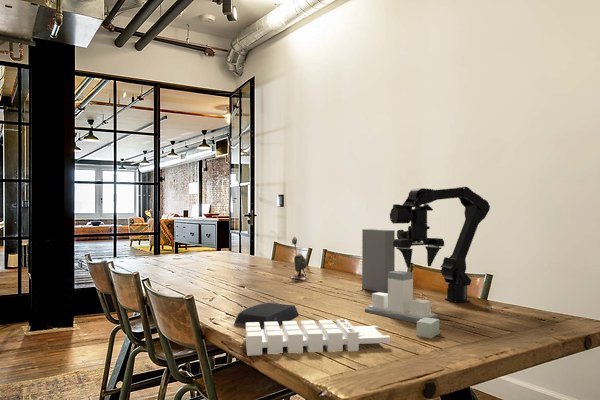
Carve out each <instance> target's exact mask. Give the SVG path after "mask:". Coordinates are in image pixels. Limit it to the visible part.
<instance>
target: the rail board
mask: <svg viewBox="0 0 600 400" xmlns="http://www.w3.org/2000/svg"><path fill="white" fill-rule="evenodd" d="M364 312H365V313H370V314H373V315H374V314H375V315H378V316H383V317H388V318H392V319H397V320H400V321H405V322H410V323H415V324H417V321H419V320H421V319H423V318H425V317H427V318H434V319H439V318H438V317H439V315H438V314H436V313H432V301H431V300H426V299H419V298H415V299H414V298H413V300H410V311H408V312H404V313H403V312H398V311H393V310H388V293H381V292H373V293H371V305H367V307H366V308H364Z"/></svg>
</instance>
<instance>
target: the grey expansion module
mask: <svg viewBox="0 0 600 400" xmlns="http://www.w3.org/2000/svg"><path fill="white" fill-rule="evenodd" d="M413 281H414V272H413V271H412V272H410V271H403V270H402V271H401V270H395V271H392V272H388V293H387V294H388V310H393V311H398V312H403V313H404V312H408V311H410V300H414V297H413V296H414V287H413V286H414V285H413V284H414V282H413Z"/></svg>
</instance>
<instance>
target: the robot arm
mask: <svg viewBox="0 0 600 400" xmlns="http://www.w3.org/2000/svg"><path fill="white" fill-rule="evenodd" d="M447 199H448V200H449V199H459V201H460V204H461V205H462V206H463V207H464V212H463V213H464V219H465V220H464V221H463V222H464V223H463V225H462V228H461V229H460V233H459V236H458V238H457V241H456V242H455V243H456V244H455V246H454V249H453V252H452V254H451V255H450V256H449V257H447V256H445V257H444V258H443V261H442V264H441V265H440V268H441V269H440V273H441V275H442V277H443V278H444V282H445V283H447V289H446V290H447V291H446V292H447V294H446V295H447V296H446V297H445V298H444V300H446V301H449V302H453V303H458V304H459V303H466V302H471V299H468V286H471V283H472V279H471V278H470V277H469V275H467V273H466V270H467V263H466V259H467V256H468V253H469V251H470V248H471V245H472V244H473V243H472V242H473V240H474V237H475V234H476V232H477V229H478V227H479V224H480V223H481V222H482V221H483V220H485V218H486V217H487V215H488V213H489V212H490V209H491V208H490V207H491V205H490V204H489V201H488V200H486V199H484V198H483V197H482V196H480V195H479V194H478V193H476V192H474V191H473V190H472V189H471V188H470V187H468V186H458V187H451V188H450V187H449V188H441V189H440V188H439V189H432V188H423V187H422V188H412V189H410V191H409V193H408V196H407V198H406V199H405V201H404V202H403V203H402V204H398V203H397V204H394V203H393V205H392V208H391V210H390V213H389V219H390V223H392V224H395V225H396V224H409V223H410V225H408V227H407V230H404V229H397V231H396V238H395V240H394V242H393V247H395V250H399V251H400V253H401V255H402V256H403V259H404V262H405V263H404V264H405V265H406V268H409V269H410V268H411V264H412V256H413V248H411V247H413V246H425V247H424V248H425V250H426V255H427V256H426V258H427V259H426V262H427V267H428V268H429V267H432V264H433V262H434V260H435V258H436V256H437V255H438V253H439V251H440V250H441V249H442V247H445V241H444V239H443V238H439V237H428V230H430V229H431V228H430V227H431V226H428V212H429V211H431V212H432V211H433V210H434V209H433V208H432V207H431V206H430V205H429V204H430V203H433V202H436V201H439V200H447Z"/></svg>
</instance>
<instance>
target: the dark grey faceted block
mask: <svg viewBox="0 0 600 400" xmlns="http://www.w3.org/2000/svg"><path fill="white" fill-rule="evenodd" d="M297 317H299V311H298V309H297V307H296V306H295V305H294V304H285V303H277V302H276V303H274V302H263V303H259V304H256V305H252V306H249V307H247V308H245V309H243V310H241V311H240V312H239V313H238V314H237V316H236V318H235V319H234V324H233V325H235V326H241V327H246V323H247V322H259V324H260V328H261V330H264V322H278V324H279V326H282V321H293V320H294V319H295V318H297Z"/></svg>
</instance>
